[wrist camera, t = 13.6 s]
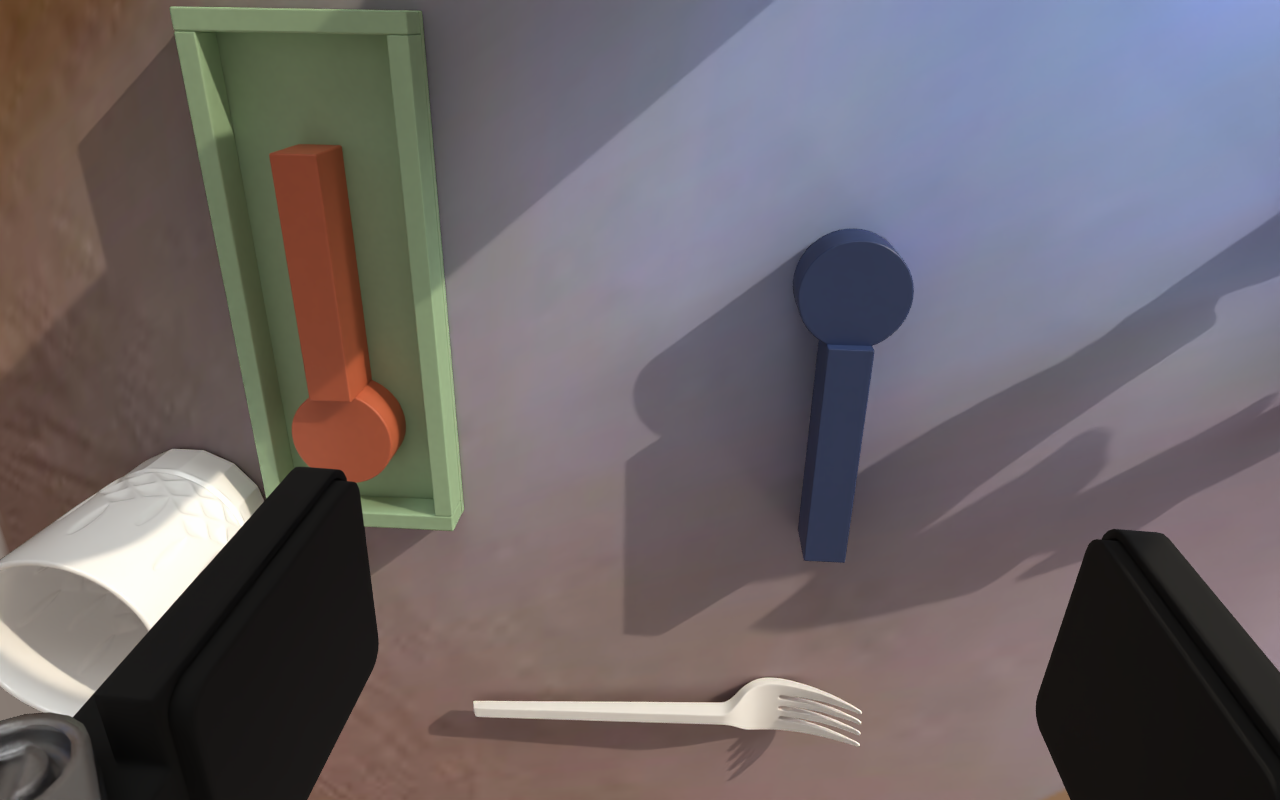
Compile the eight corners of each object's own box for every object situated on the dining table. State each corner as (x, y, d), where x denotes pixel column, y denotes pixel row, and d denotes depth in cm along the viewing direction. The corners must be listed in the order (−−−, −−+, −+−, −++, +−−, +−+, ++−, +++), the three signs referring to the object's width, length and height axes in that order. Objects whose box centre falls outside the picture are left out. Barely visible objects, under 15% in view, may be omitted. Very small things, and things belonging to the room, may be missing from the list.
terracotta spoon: (265, 143, 33) (233, 152, 31) (374, 145, 33) (350, 155, 31) (317, 459, 39) (294, 487, 37) (411, 464, 39) (392, 492, 36)
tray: (197, 7, 32) (168, 6, 30) (422, 10, 31) (406, 10, 29) (288, 501, 41) (270, 522, 39) (464, 509, 40) (453, 531, 38)
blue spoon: (864, 532, 39) (874, 564, 37) (769, 528, 39) (774, 559, 37) (910, 229, 33) (925, 245, 31) (798, 226, 33) (805, 241, 31)
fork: (470, 676, 44) (461, 703, 43) (856, 677, 43) (862, 705, 41) (479, 723, 46) (470, 750, 44) (853, 725, 44) (859, 754, 42)
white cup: (268, 439, 39) (138, 566, 30) (294, 578, 42) (184, 730, 33) (105, 432, 40) (-72, 555, 31) (144, 570, 43) (-6, 718, 34)
